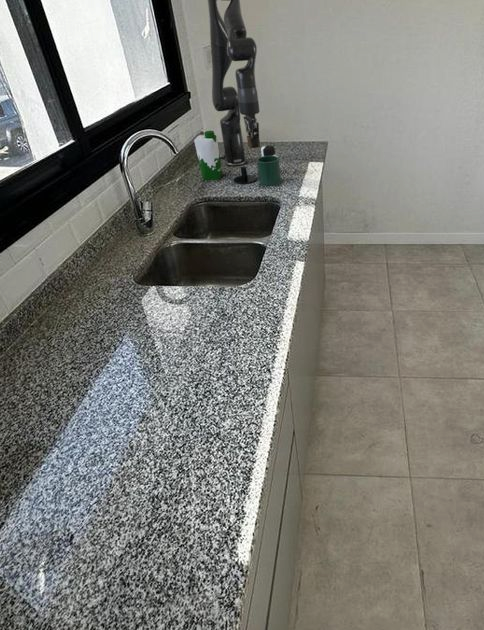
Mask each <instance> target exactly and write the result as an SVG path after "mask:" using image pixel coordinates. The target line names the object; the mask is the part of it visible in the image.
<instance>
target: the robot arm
mask: <svg viewBox="0 0 484 630" xmlns="http://www.w3.org/2000/svg"><path fill="white" fill-rule="evenodd" d="M217 1H218V0H207V6H208V17H209V43H210V59H211V101H212V105H213V108H214V110H215V111H217V112H225V111H227V113H226V114H225V115H224V116H223V117H221V119H220V120H219V127H220V131H221V137H222V143H223V149H224V152H223V153H224V154H223V156H220V160H224V159H225V161H226V165H227V166H229V167H238V166H242V165H244V164H246V163H247V159H246V153H245V147H244V146H245V145H244V138H243V133H242V124H241V115H242V116H243V122H244V126H245V132H246V133H247V136H249V135H251V138H252V145H253V148H252V149H257V148H259V147H258V137H259V138H260V124H259V122H258V118H256V115H258V114H259V113H260V102H259V94H258V89H257V83H256V72H255V71H256V60H257V51H258V48H257V44H256V40H254V38H253V37H250V36H249V37H247V35H248V34H247V33H248V32H247V27H246V25H245V22H244V18H243V15H242V8H241V1H240V0H222V1H225V2H226V1H227V2H229V3H228V5H227V8H226V9H225V11H224V13H223V17H222V16H221V13H220V11H219V8H218V2H217ZM245 61H247V63H246V65H244V66H243V67H240V68H237V69H236V70H235V73H234V74H235V82H236V88H235V87H234V86H225V87H224V83H225V78H226V76H227V73H228V71H229V69H230V67H231V65H232V63H233V62H245Z"/></svg>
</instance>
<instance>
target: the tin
mask: <svg viewBox="0 0 484 630" xmlns="http://www.w3.org/2000/svg"><path fill="white" fill-rule="evenodd" d="M276 156H277V155H275V156H263V157H262V156H260V157H258V158H256V166H257V175H258V183H259V185H260V186H263V187H275V186H279V185H280V184H281V183H282V177H281V167H280V158H279V156H278V157H276Z"/></svg>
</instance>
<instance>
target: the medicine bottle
mask: <svg viewBox="0 0 484 630" xmlns="http://www.w3.org/2000/svg"><path fill="white" fill-rule="evenodd" d="M260 153H261V157H263V156H276V157H278V158H279V156H278V155H276V149H275V146H273V145H263V146H262V147H260Z"/></svg>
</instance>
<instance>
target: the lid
mask: <svg viewBox="0 0 484 630" xmlns="http://www.w3.org/2000/svg"><path fill="white" fill-rule="evenodd" d="M257 180H258V179H257V176H256V175H252V174H248V170H247V166H240V175H238V176H236V177H234V178H233V183H235V184H237V185H248V184H253V183H255V182H256V181H257Z"/></svg>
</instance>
